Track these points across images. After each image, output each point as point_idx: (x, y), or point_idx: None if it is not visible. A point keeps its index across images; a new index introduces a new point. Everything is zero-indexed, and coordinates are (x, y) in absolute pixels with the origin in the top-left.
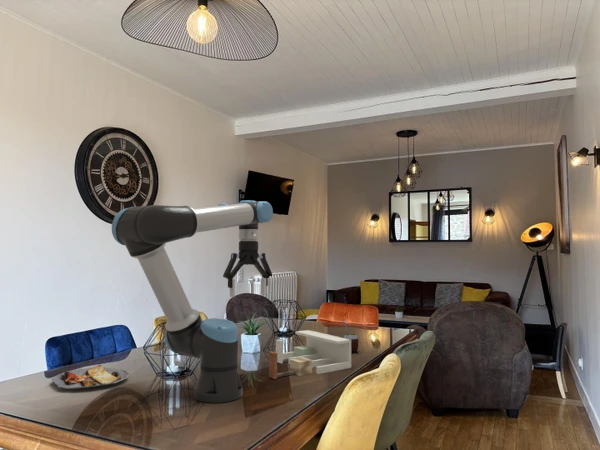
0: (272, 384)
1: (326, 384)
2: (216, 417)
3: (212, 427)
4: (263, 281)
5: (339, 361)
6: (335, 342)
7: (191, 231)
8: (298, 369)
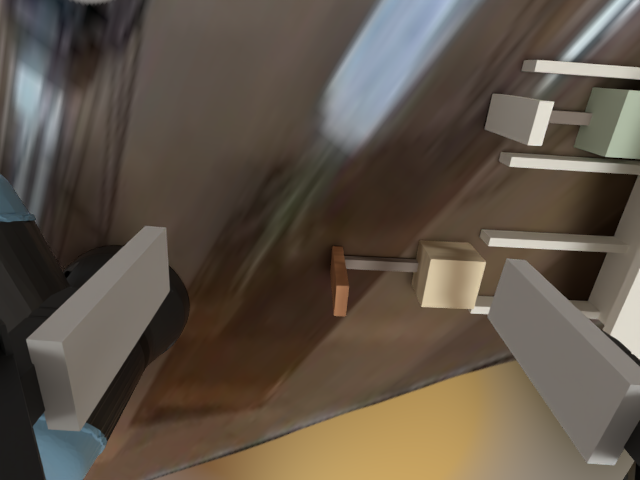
0: (296, 303)
1: (402, 374)
2: None
3: None
4: (567, 403)
5: (609, 273)
6: None
7: None
8: (416, 290)
